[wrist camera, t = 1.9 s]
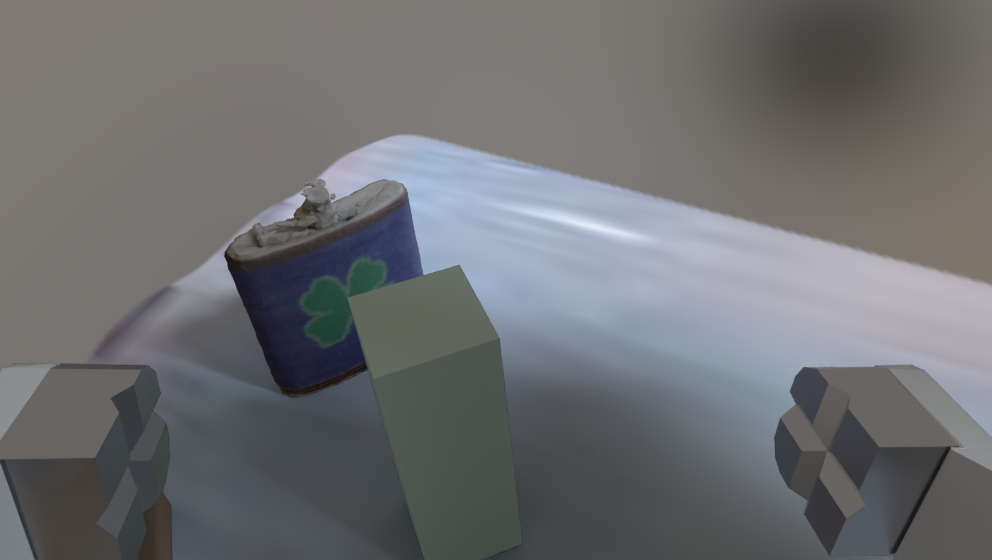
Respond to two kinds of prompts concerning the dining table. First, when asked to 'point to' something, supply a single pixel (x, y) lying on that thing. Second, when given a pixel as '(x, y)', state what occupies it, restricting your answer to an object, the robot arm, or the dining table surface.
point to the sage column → (443, 412)
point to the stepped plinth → (157, 532)
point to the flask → (322, 279)
